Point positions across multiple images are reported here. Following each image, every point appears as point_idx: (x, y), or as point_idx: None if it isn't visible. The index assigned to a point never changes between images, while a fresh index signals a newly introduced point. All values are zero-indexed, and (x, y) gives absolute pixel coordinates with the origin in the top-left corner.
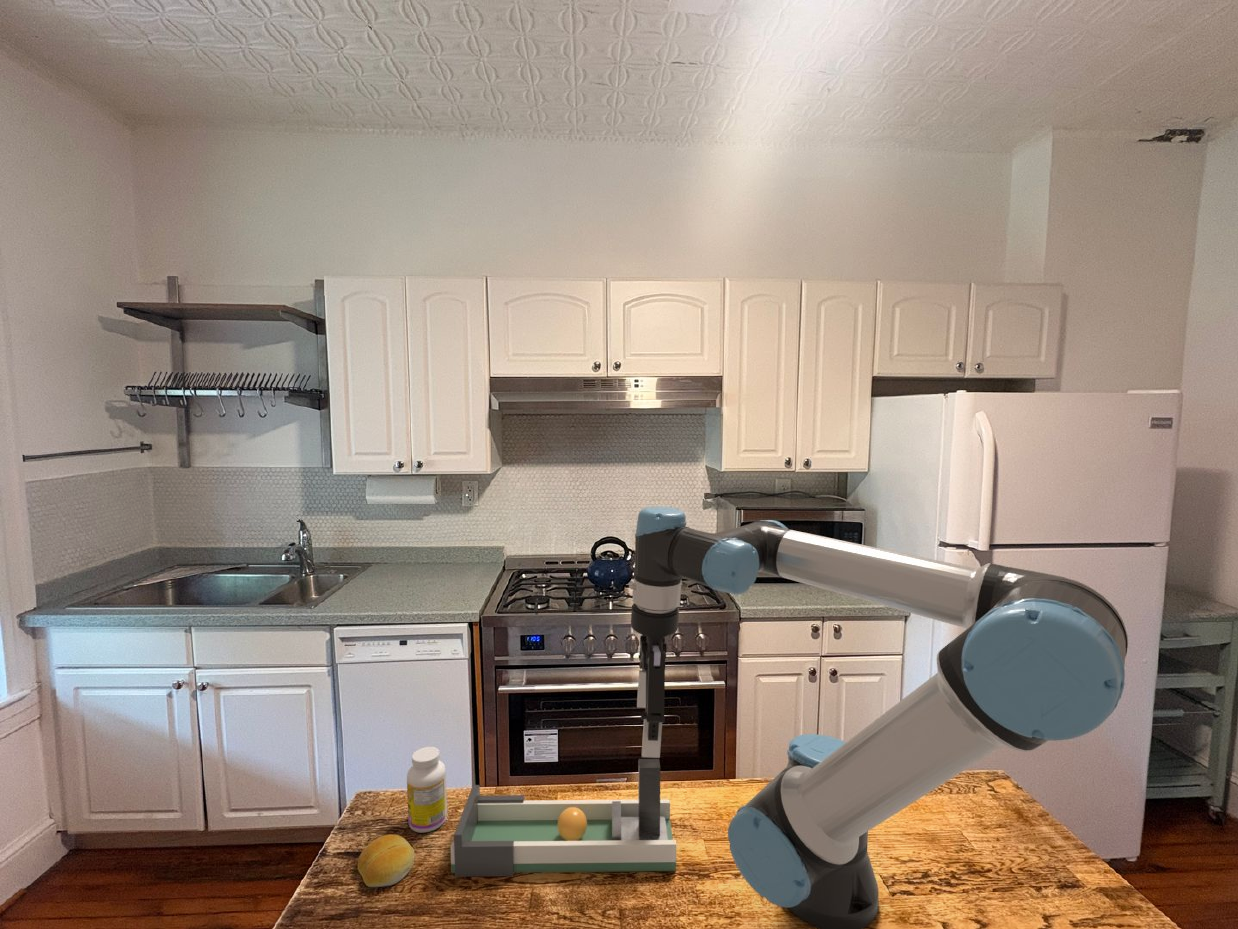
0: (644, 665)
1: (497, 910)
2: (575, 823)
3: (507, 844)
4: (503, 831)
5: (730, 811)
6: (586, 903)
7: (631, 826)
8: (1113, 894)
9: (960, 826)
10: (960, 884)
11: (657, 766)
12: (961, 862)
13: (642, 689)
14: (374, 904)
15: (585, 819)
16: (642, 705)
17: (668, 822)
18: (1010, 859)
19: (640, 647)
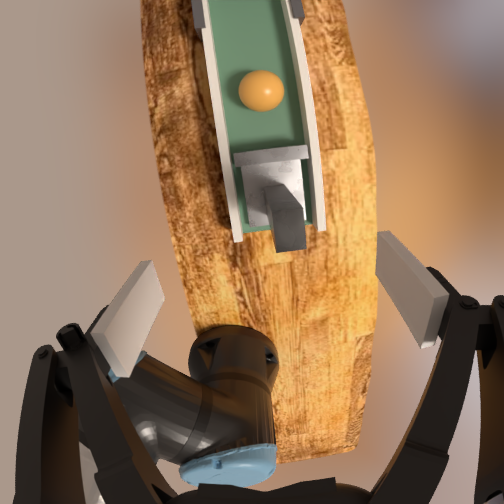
0: (104, 491)
1: (153, 45)
2: (245, 96)
3: (197, 21)
4: (260, 10)
5: (339, 291)
6: (172, 133)
7: (281, 174)
8: None
9: (312, 433)
10: None
11: (280, 247)
12: (276, 428)
13: (401, 273)
14: None
15: (261, 108)
16: (379, 249)
17: (306, 222)
18: (281, 444)
19: (414, 474)
